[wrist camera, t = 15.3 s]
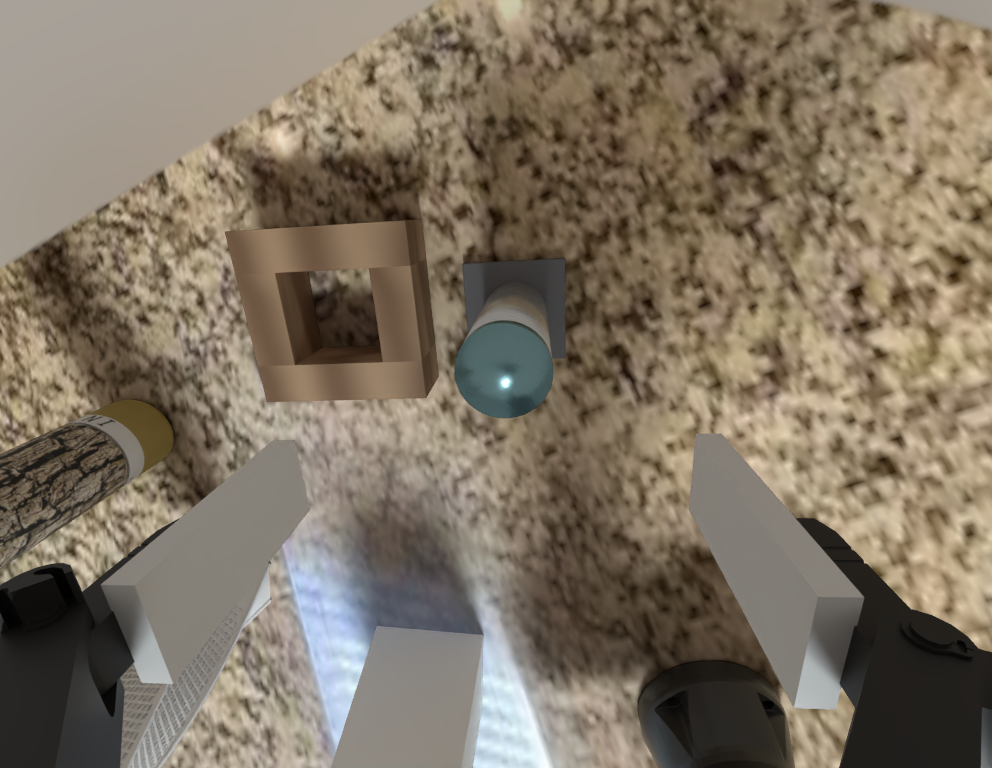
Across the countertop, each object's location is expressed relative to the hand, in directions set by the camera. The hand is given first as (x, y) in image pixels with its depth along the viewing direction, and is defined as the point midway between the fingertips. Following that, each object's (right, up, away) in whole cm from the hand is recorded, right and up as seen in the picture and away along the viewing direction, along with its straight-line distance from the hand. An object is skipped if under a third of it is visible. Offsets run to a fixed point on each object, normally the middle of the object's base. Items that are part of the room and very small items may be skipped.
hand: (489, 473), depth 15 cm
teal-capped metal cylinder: (+2, +9, +22) cm, 24 cm away
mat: (+2, +9, +23) cm, 25 cm away
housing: (-12, +10, +24) cm, 28 cm away
